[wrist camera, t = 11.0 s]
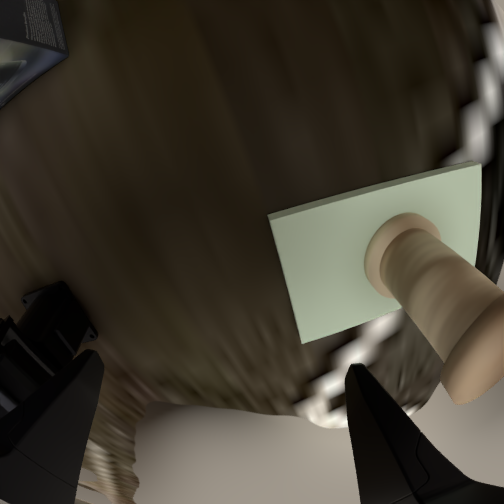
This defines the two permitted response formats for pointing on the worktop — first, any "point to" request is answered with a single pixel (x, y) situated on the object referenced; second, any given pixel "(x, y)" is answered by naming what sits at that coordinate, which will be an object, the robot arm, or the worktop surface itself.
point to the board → (366, 243)
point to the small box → (28, 43)
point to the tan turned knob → (441, 301)
